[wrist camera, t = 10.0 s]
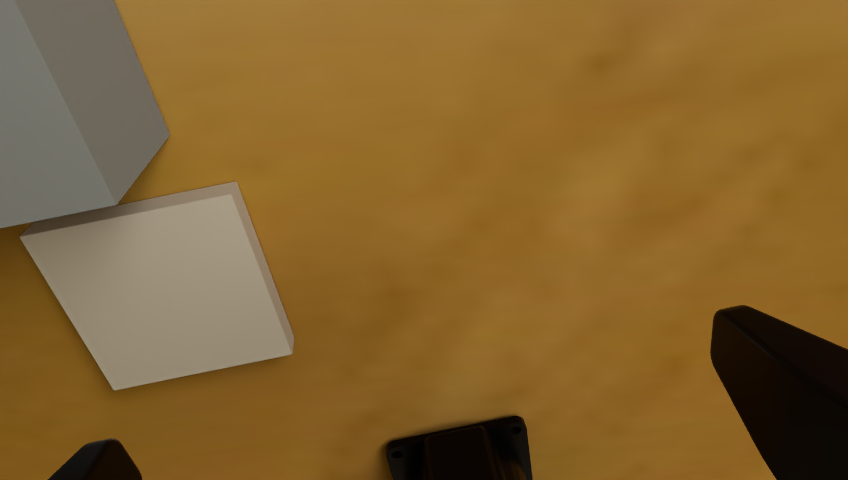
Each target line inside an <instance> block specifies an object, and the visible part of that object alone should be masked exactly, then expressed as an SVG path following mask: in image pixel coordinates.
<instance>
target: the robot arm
mask: <svg viewBox="0 0 848 480" xmlns="http://www.w3.org/2000/svg"><path fill="white" fill-rule="evenodd" d="M710 354H711V360H712V363H713V366H714V368H715V370H716V372H717V374H718V376H719V377H720V379H721V381H722V383H723V385H724V387H725V389H726V391H727V393H728V394H729V396H730V398H731V400H732V402H733V404H734V406H735V408H736V410H737V411H738V413H739V415H740V417H741V419H742V421H743V423H744V425H745V426H746V428H747V430H748V432H749V434H750V436H751V438H752V440H753V442H754V443H755V445H756V447H757V449H758V450H759V452H760V454H761V456H762V458H763V459H764V461H765V462H766V464H767V465H768V467H769V469H770V470H771V472H772V473H773V475H774V476H775V478H776V479H777V480H848V349H846V348H843V347H841V346H839V345H836V344H834V343H832V342H830V341H827V340H825V339H823V338H820V337H818V336H816V335H813V334H811V333H809V332H807V331H804V330H802V329H800V328H797V327H795V326H793V325H790V324H788V323H786V322H784V321H781V320H779V319H777V318H774V317H772V316H770V315H768V314H765V313H763V312H761V311H758V310H756V309H754V308H751V307H749V306H745V305H739V306H734V307H730V308H725V309H721V310H718V311H717V312H716V313H715V315H714V319H713V328H712V339H711V350H710ZM513 427H514V428H513ZM386 455H387V460H388V463H389V466H390V470H391V473H392V476H393V479H394V480H532V471H531V462H530V454H529V445H528V437H527V428H526V425H525V422H524V420H523V418H521V417H519V416H512V417H507V418H502V419H497V420H492V421H487V422H482V423H477V424H473V425H468V426H463V427H458V428H453V429H448V430H443V431H438V432H433V433H429V434H424V435H419V436H414V437H409V438H404V439H399V440H394V441H392V442H390V443H389V444H388V445H387V446H386ZM48 480H142V476H141V473H140V471H139V470H138V468H137V467H136V465H135V464H134V462H133V461H132V459H131V457H130V456H129V454H128V453H127V451H126V450H125V448H124V447H123V445H122V444H121V443H120V441H118V440H116V439H112V438H110V439H105V440H100V441H95V442H91V443H88V444H86V445H84V446H83V447H82V448H81V449H79V450H78V451H77V452H76V453H75V454H74V455H73V456H72V457H71V458H70V459H69V460H68V461H67V462H66V463H65V464H64V465H63V466H62V467H61V468H60V469H59V470H57V471H56V472H55V473H54V474H53V475H52V476H51V477H50V478H49V479H48Z"/></svg>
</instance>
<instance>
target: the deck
mask: <svg viewBox="0 0 848 480" xmlns="http://www.w3.org/2000/svg"><path fill="white" fill-rule="evenodd" d="M19 238H20V239H21V241H22V242H23V244H24V246H25V247H26V249H27V250H28V252H29V254H30V255H31V257H32V259H33V260H34V262H35V263H36V265H37V267H38V268H39V270H40V272H41V273H42V275H43V276H44V278H45V280H46V281H47V283H48V285H49V286H50V288H51V289H52V291H53V293H54V294H55V296H56V298H57V299H58V301H59V302H60V304H61V306H62V307H63V309H64V311H65V312H66V314H67V315H68V317H69V319H70V320H71V322H72V323H73V325H74V327H75V328H76V330H77V332H78V333H79V335H80V336H81V338H82V340H83V341H84V343H85V345H86V346H87V348H88V349H89V351H90V353H91V354H92V356H93V358H94V359H95V361H96V362H97V364H98V366H99V367H100V369H101V371H102V372H103V374H104V375H105V377H106V379H107V380H108V382H109V384H110V385H111V387H112V388H113V390H119V389H124V388H129V387H134V386H139V385H144V384H149V383H154V382H159V381H163V380H168V379H173V378H178V377H183V376H188V375H193V374H198V373H203V372H208V371H213V370H217V369H222V368H227V367H232V366H237V365H242V364H247V363H252V362H257V361H262V360H267V359H272V358H276V357H281V356H286V355H291V354H292V352H293V344H294V335H293V333H292V330H291V327H290V324H289V322H288V319H287V316H286V314H285V311H284V308H283V306H282V303H281V300H280V298H279V295H278V292H277V289H276V287H275V284H274V281H273V279H272V276H271V273H270V271H269V268H268V265H267V262H266V260H265V257H264V254H263V252H262V249H261V246H260V244H259V241H258V238H257V236H256V233H255V230H254V227H253V225H252V222H251V219H250V217H249V214H248V211H247V209H246V206H245V203H244V201H243V198H242V195H241V192H240V190H239V187H238V184H237V182H231V183H226V184H221V185H216V186H211V187H206V188H201V189H196V190H191V191H186V192H181V193H176V194H171V195H166V196H161V197H156V198H151V199H147V200H142V201H137V202H132V203H127V204H122V205H117V206H112V207H107V208H102V209H97V210H92V211H87V212H82V213H77V214H72V215H67V216H62V217H57V218H52V219H48V220H43V221H38V222H33V223H32V224H31V225H30V226H29V227H28V228H27V229H26V231H25V232H24V233H23V234H22V235H21V236H20V237H19Z"/></svg>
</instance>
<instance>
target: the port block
mask: <svg viewBox="0 0 848 480" xmlns="http://www.w3.org/2000/svg"><path fill="white" fill-rule="evenodd" d="M169 136H170V134H169V131H168V129H167V127H166V124H165V122H164V119H163V117H162V115H161V112H160V110H159V107H158V105H157V103H156V100H155V98H154V95H153V93H152V91H151V88H150V86H149V84H148V81H147V79H146V76H145V74H144V72H143V69H142V67H141V64H140V62H139V60H138V57H137V55H136V52H135V50H134V48H133V45H132V43H131V40H130V38H129V36H128V33H127V31H126V28H125V26H124V24H123V21H122V19H121V16H120V14H119V12H118V9H117V7H116V4H115V2H114V0H0V228H5V227H10V226H15V225H20V224H25V223H30V222H35V221H39V220H44V219H49V218H54V217H59V216H64V215H69V214H74V213H79V212H84V211H89V210H94V209H99V208H104V207H109V206H114V205H117V204H118V202H119V201H120V200H121V199H122V197H123V196H124V195H125V193H126V192H127V191H128V189H129V188H130V187H131V185H132V184H133V183H134V182H135V180H136V179H137V178H138V176H139V175H140V174H141V172H142V171H143V170H144V168H145V167H146V166H147V165H148V163H149V162H150V161H151V159H152V158H153V157H154V155H155V154H156V153H157V151H158V150H159V149H160V148H161V146H162V145H163V144H164V142H165V141H166V140H167V138H168V137H169Z"/></svg>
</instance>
